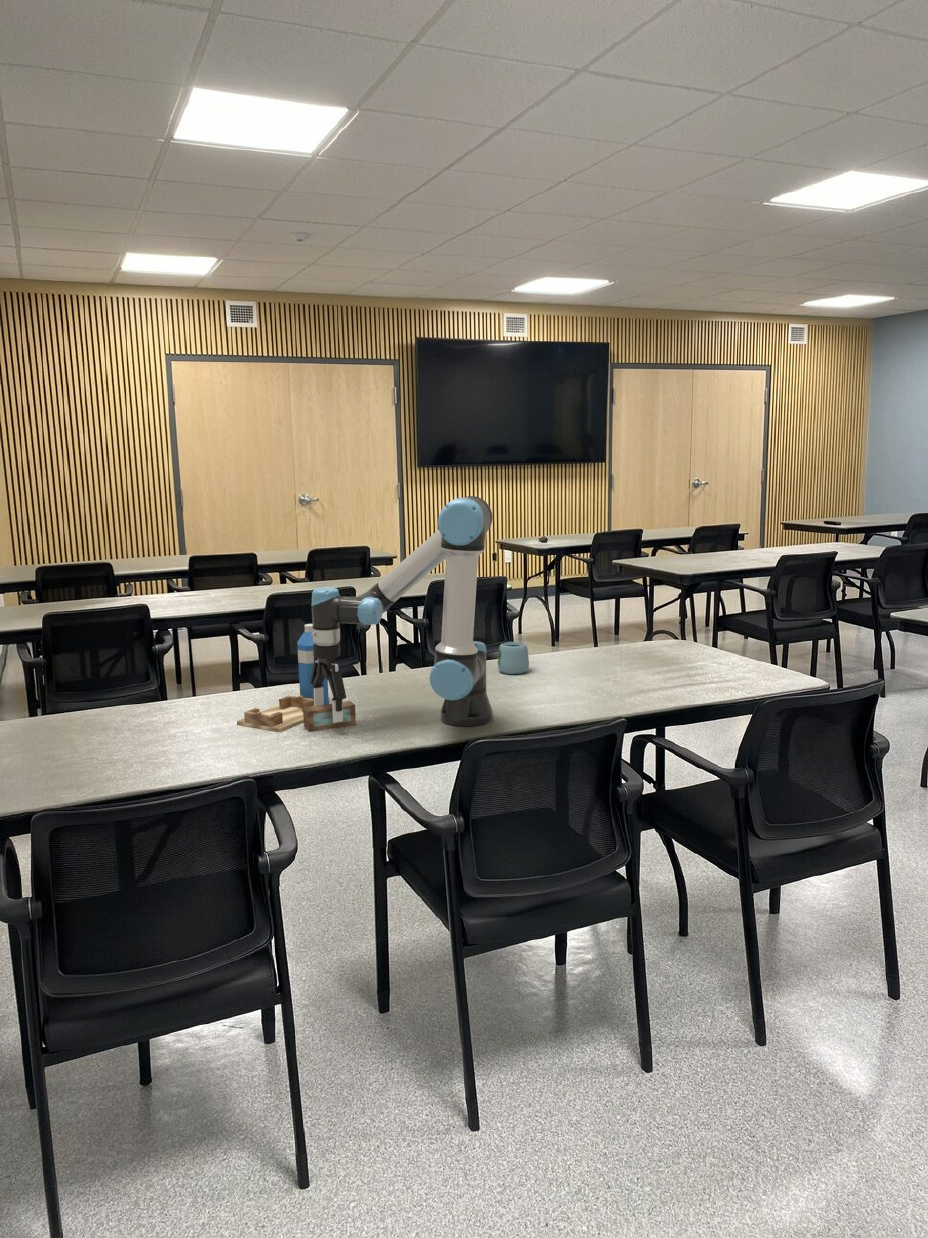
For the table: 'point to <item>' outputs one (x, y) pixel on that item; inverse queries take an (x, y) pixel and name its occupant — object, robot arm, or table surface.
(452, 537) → the robot arm
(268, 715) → the cleat board
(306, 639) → the water bottle
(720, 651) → the table surface
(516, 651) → the mug
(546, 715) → the table surface
